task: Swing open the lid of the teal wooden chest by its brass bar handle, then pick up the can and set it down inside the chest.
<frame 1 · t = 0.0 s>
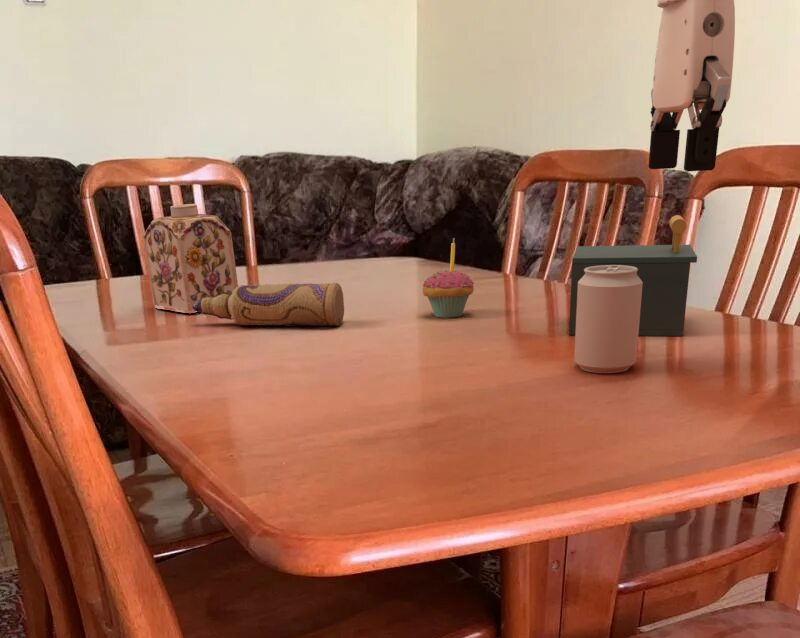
hand: (679, 169, 91), 22 cm above the table, tool pointing down, fingers open, 9 cm apart
cupcake: (449, 316, 138), on the table
lid: (634, 237, 119), point 13 cm above the table, hinge at 0.0°
can: (604, 369, 103), on the table
decorative jar: (197, 308, 155), on the table
decorative bottle: (274, 325, 137), on the table
chest: (624, 326, 124), on the table
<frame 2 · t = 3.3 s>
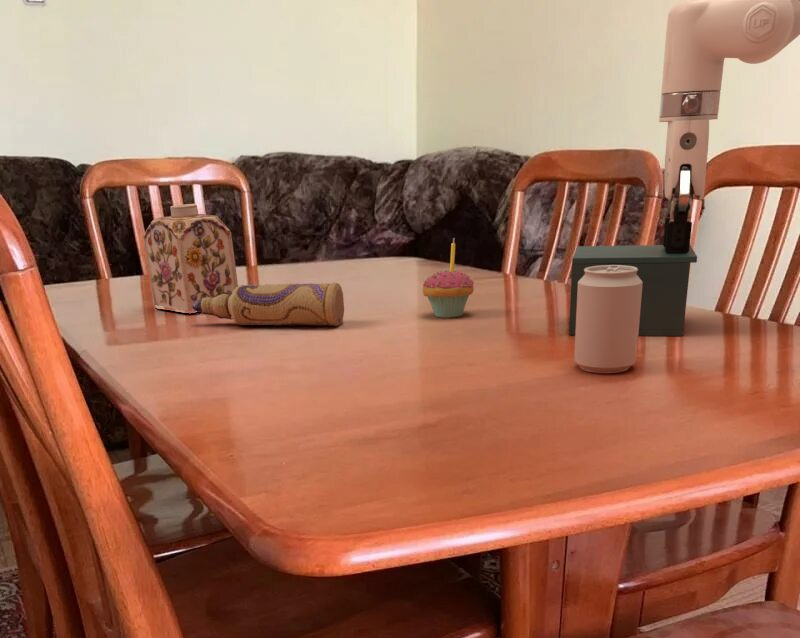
hand: (675, 248, 118), 11 cm above the table, tool pointing down, fingers closed on lid, 6 cm apart
lid: (634, 237, 119), point 13 cm above the table, hinge at 0.0°, touching gripper
everything else where it was.
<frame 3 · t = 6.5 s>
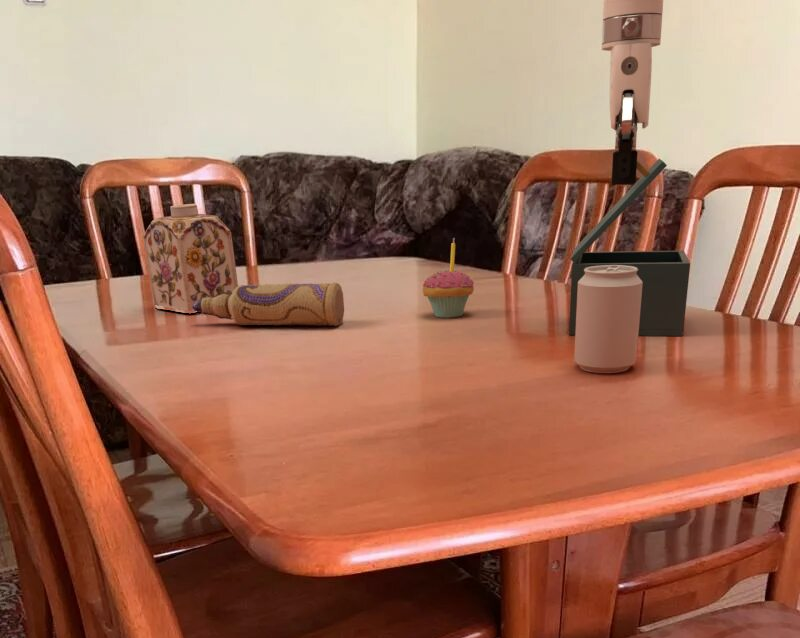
hand: (623, 181, 116), 20 cm above the table, tool pointing down, fingers closed on lid, 6 cm apart
lid: (606, 198, 117), point 18 cm above the table, hinge at 46.9°, touching gripper
everything else where it was.
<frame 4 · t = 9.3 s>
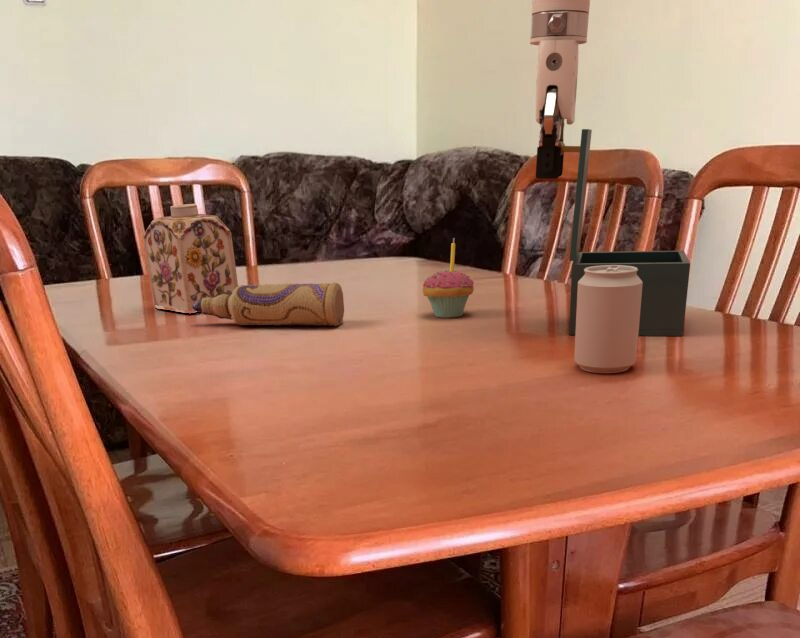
hand: (549, 176, 118), 21 cm above the table, tool pointing down, fingers closed on lid, 6 cm apart
lid: (564, 193, 118), point 19 cm above the table, hinge at 86.9°, touching gripper
everything else where it was.
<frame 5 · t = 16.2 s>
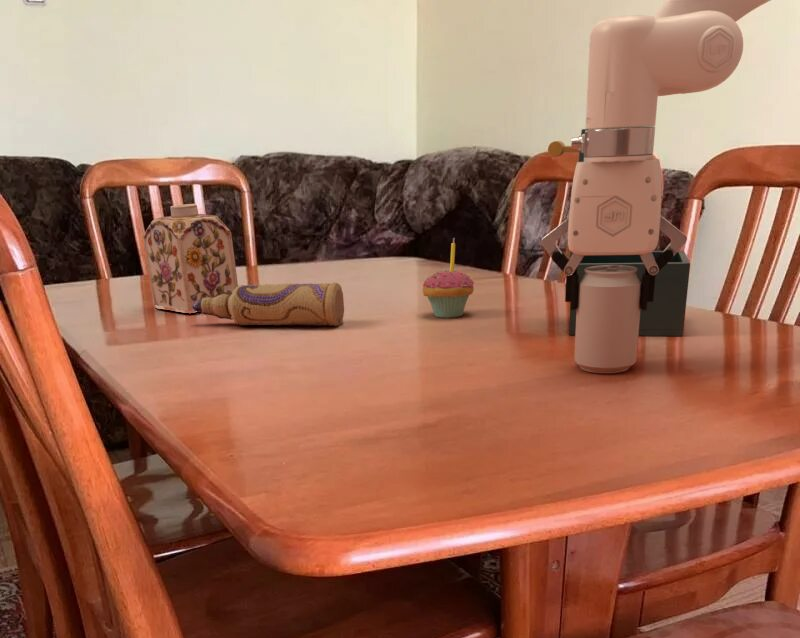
hand: (608, 307, 99), 7 cm above the table, tool pointing down, fingers closed on can, 7 cm apart
lid: (564, 193, 118), point 19 cm above the table, hinge at 87.1°
can: (604, 369, 103), on the table, touching gripper
everything else where it was.
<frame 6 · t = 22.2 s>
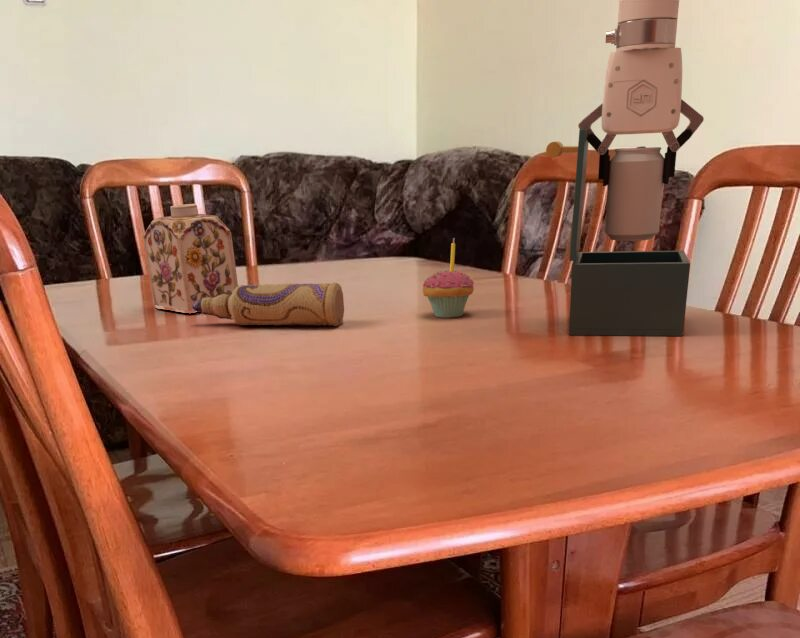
hand: (635, 183, 116), 20 cm above the table, tool pointing down, fingers closed on can, 7 cm apart
lid: (563, 193, 118), point 19 cm above the table, hinge at 88.0°
can: (631, 240, 119), point 12 cm above the table, touching gripper
everything else where it was.
when the fingers open (8 cm above the table, at t = 25.4 s): can stays where it is, resting on chest.
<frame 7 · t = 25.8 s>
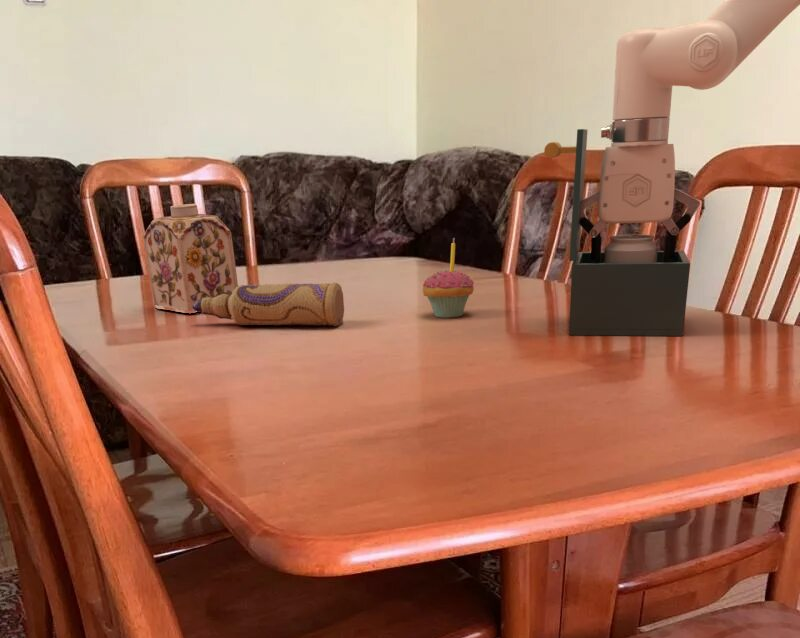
hand: (631, 264, 120), 9 cm above the table, tool pointing down, fingers open, 9 cm apart
lid: (562, 194, 119), point 19 cm above the table, hinge at 89.0°
can: (625, 321, 124), point 1 cm above the table, touching chest
everything else where it was.
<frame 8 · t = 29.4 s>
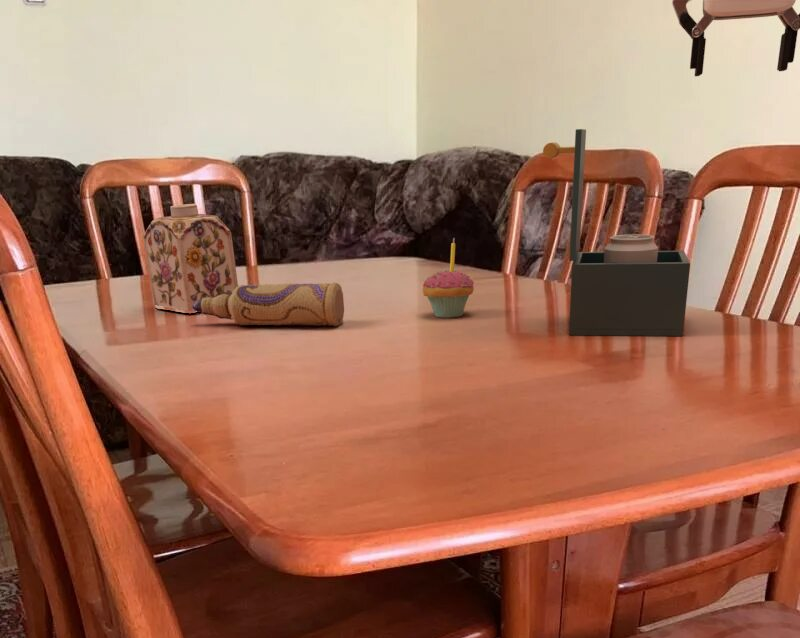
hand: (739, 73, 101), 32 cm above the table, tool pointing down, fingers open, 9 cm apart
lid: (561, 194, 119), point 19 cm above the table, hinge at 89.7°
everything else where it was.
at the end: lid at +90° (first picture: +0°); can inside the target area in the chest (0.1 cm from its centre), point 0.7 cm above the chest's base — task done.
